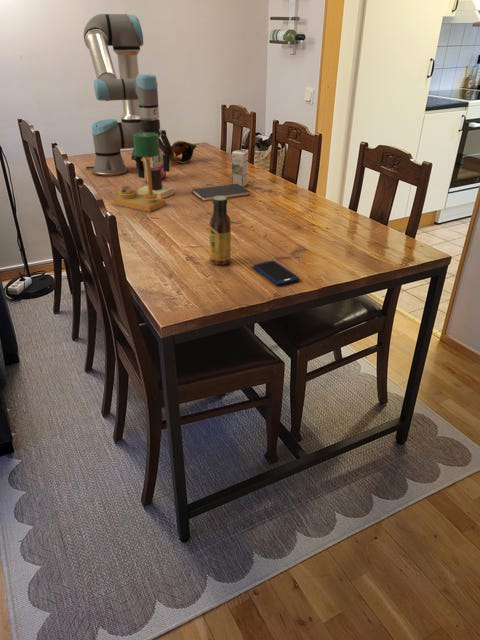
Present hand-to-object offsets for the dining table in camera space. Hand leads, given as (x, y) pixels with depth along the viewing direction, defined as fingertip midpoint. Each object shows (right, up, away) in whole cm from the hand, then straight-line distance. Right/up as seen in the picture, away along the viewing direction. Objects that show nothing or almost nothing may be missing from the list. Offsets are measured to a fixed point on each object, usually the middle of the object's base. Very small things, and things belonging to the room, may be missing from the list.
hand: (154, 174), depth 198 cm
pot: (+4, +23, +55) cm, 59 cm away
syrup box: (+35, +1, +18) cm, 40 cm away
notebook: (+27, -7, +6) cm, 29 cm away
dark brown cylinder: (0, -5, +3) cm, 6 cm away
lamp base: (-4, -14, -7) cm, 16 cm away
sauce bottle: (+29, -43, -53) cm, 74 cm away
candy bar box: (-3, +5, +24) cm, 25 cm away
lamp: (+1, -12, -12) cm, 17 cm away
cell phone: (+46, -47, -60) cm, 88 cm away
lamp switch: (-10, -9, -7) cm, 15 cm away
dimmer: (0, -7, +5) cm, 8 cm away
